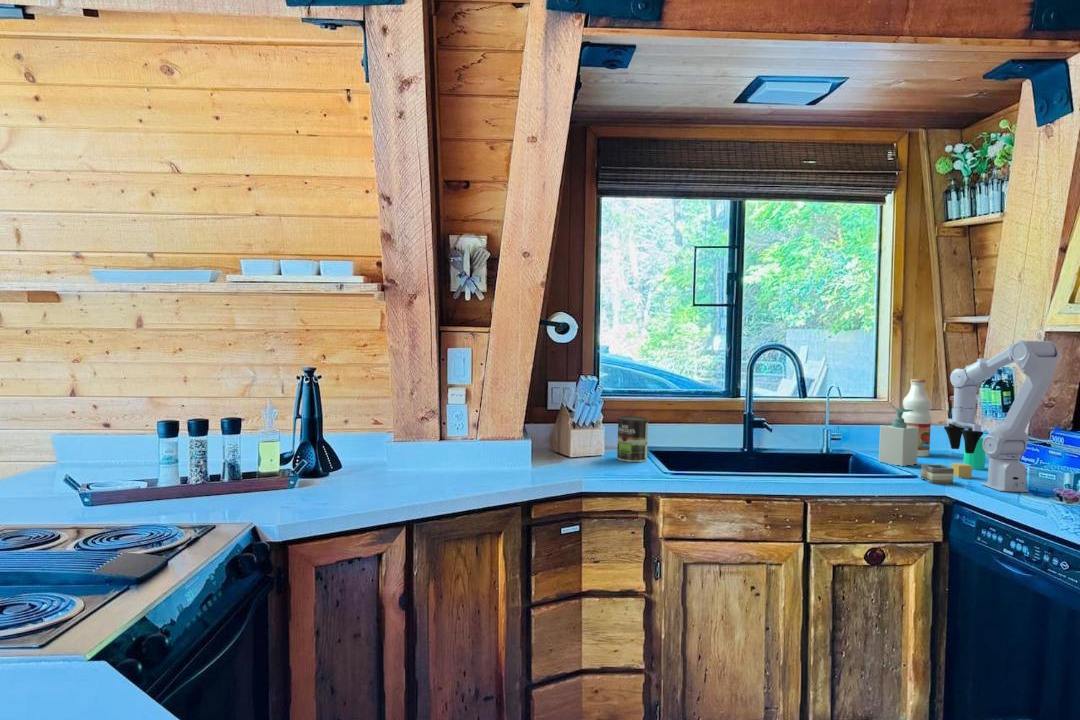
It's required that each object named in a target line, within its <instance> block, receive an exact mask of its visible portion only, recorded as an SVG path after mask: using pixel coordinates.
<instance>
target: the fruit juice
mask: <svg viewBox="0 0 1080 720" xmlns="http://www.w3.org/2000/svg"><path fill="white" fill-rule="evenodd" d="M909 383H910V389H909V391H908V393H907V395H906V396H904V398H903V400H902V406H903V409H911V410H913V411H908V412H903V415H902V418H903V419H904V422H905V423H907V426H913V427H918V428H919V431H918V454H917V458H918V457H922V458H923V457H929V456H930V452H931V451H930V448H931V447H930V444H931V425H932V418H931V413H930V410H931V407H932V401H931V399H930V398H929V396H928V395H927V393H926V389H925V384H926V379H924V378H910V380H909Z"/></svg>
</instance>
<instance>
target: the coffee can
mask: <svg viewBox="0 0 1080 720" xmlns="http://www.w3.org/2000/svg"><path fill="white" fill-rule="evenodd" d="M649 419H650V418H646V417H644V416H643V417H642V416H619V417H618V418H617V424H618V425H617V452H616V453H617V455H616V456H617V457H616V459H617V460H618V461H621V462H626V463H644V462H647V461H648V436H649V434H648V433H649V432H648V431H649Z"/></svg>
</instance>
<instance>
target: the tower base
mask: <svg viewBox="0 0 1080 720" xmlns="http://www.w3.org/2000/svg"><path fill="white" fill-rule="evenodd" d="M920 469H921V470H920V479H921V478H924V479H926V480H929V481H930V482H931V483H930V482H929V483H930V484H933V485H935V484H938V485H939V484H941V485H942V484H943V485H945V484H946V485H950V484H949V483H953V484H954V476H953V475H954V469H953V468H951V467H950V466H946V465H943V464H928V463H927V464H924V463H923V464H921V465H920Z"/></svg>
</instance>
